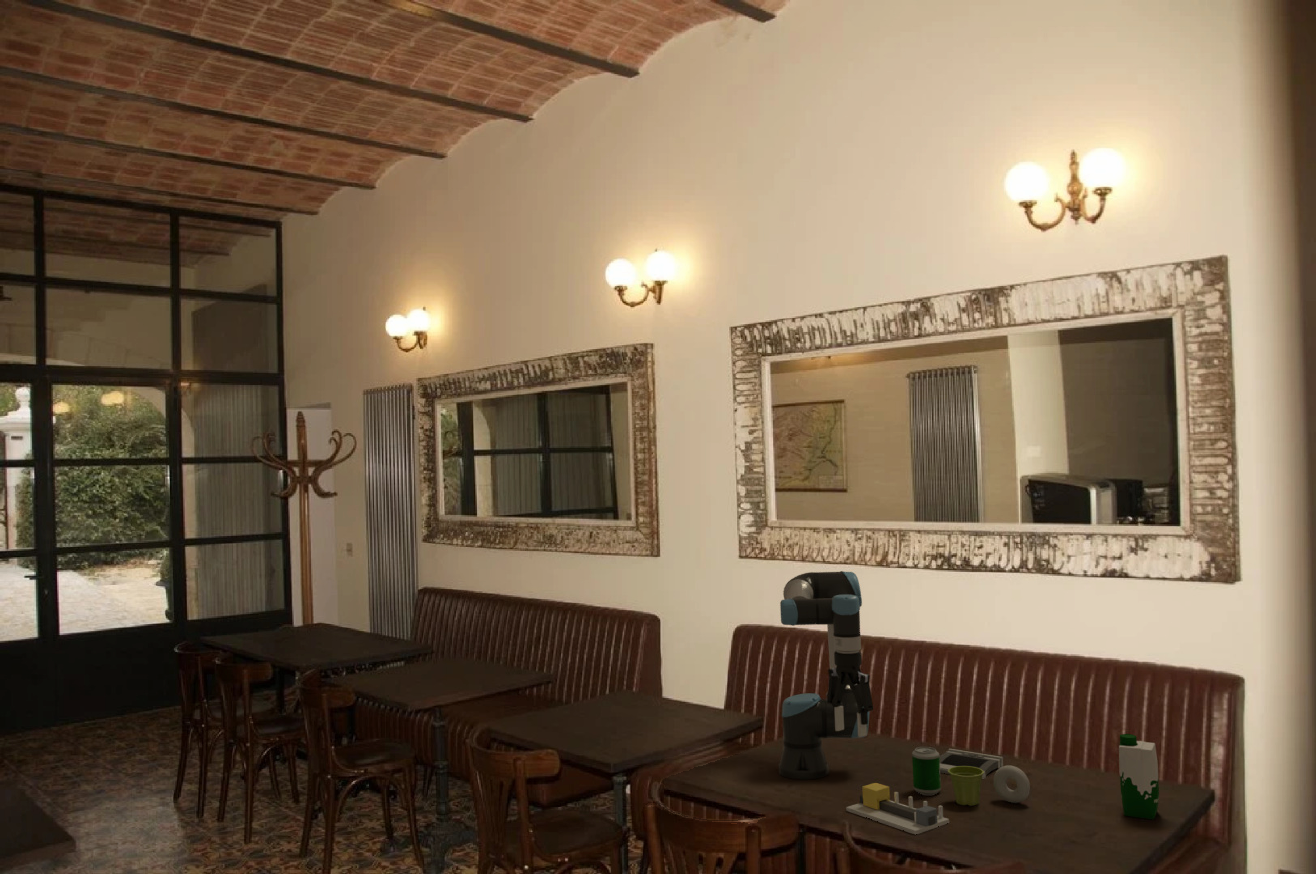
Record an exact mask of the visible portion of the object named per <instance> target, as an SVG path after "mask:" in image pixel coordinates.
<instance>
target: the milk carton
mask: <svg viewBox="0 0 1316 874" xmlns="http://www.w3.org/2000/svg"><path fill="white" fill-rule="evenodd" d="M1118 755H1119V756H1118V763H1119V781H1120V782H1119V783H1120V784H1119V785H1120V797H1121V803H1122V809H1123V815H1124V817H1125V816H1126V817H1133V818H1138V819H1139V818H1140V819H1149V820H1155V818H1156V815H1157V812H1158V806H1159V798H1160V785H1159V782H1160V781H1159V768H1158V767H1159V766H1158V763H1159V762H1158V756H1157V747H1156V743H1155V742H1150V741H1149V742H1147V741H1145V740H1137V735H1135V734H1131V733H1122V734H1119V746H1118Z"/></svg>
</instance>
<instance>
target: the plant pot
mask: <svg viewBox="0 0 1316 874" xmlns="http://www.w3.org/2000/svg"><path fill="white" fill-rule="evenodd" d="M948 772H949V774H948V775H949V776H950V779H951V782H952V783H951V784H952V788H953V793H954V794H953V795H954V798H955V803H956V804H958V805H961V806H967V805H968V806H970V807H971V806H973V807H974V806H978V805H979V803H980V798H981V797H980V793H981V784H982V780H981V779H982V775H983V774H984V771H983V770H982V769H980V768H976V767H971V766H956V767H952V768H949V769H948Z"/></svg>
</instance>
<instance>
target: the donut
mask: <svg viewBox="0 0 1316 874" xmlns="http://www.w3.org/2000/svg"><path fill="white" fill-rule="evenodd" d="M1009 779H1012V780H1014V781H1015V783H1016V788H1015V789H1014V790H1013V789H1011V788H1009V787H1008V785H1007V780H1009ZM992 780H993V782H992V783H993V787H994V790H995V792H996V793H997V795H998V796H999V797H1000V798H1001V799H1003V800H1004V801H1005V802H1009V803H1010V802H1011V804H1018V803H1021V802H1023V801H1024V800H1026V799H1027V798H1028V796H1029V794H1030V789H1031V784H1030V780H1029V778H1028V776H1027V774H1026V773H1025V772H1024V771H1023V770H1022V769H1020V768H1019V767H1017V766H1014V765H1003V767H1000V768H997V770H996V771H995V773H994V775H993V779H992Z"/></svg>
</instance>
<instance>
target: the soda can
mask: <svg viewBox="0 0 1316 874" xmlns="http://www.w3.org/2000/svg"><path fill="white" fill-rule="evenodd" d="M911 756H912V757H911V759H912V761H911V762H912V778H913V779H912V780H913V781H912V784H913V790H914V791H915V792H916V793H917V792H918V793H917V794H919V793H920V794H919V795H921V794H922V796H936V795H938V794H939V792H940V791H941V789H942V786H941V773H940V759H939V756H940V753H939V751H937V750H936V748H934V747H930V746H919V747H916V748H915V749H914V750H913V751H912V752H911ZM937 793H938V794H937ZM935 794H936V795H935Z"/></svg>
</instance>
